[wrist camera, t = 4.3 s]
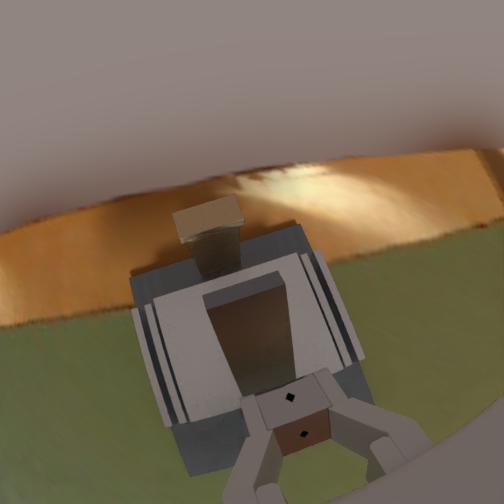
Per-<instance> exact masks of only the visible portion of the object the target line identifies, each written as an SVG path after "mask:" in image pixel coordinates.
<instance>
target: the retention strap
mask: <svg viewBox="0 0 504 504" xmlns="http://www.w3.org/2000/svg"><path fill="white" fill-rule="evenodd" d="M202 297H203V301H204V305H205V308H206V311H207V314H208V316H209V319H210V321H211V324H212V326H213V329H214V331H215V334H216V336H217V339H218V341H219V343H220V346H221V348H222V351H223V353H224V355H225V358H226V360H227V362H228V365H229V367H230V369H231V372H232V374H233V376H234V379H235V381H236V383H237V385H238V388H239V390H240V392H241V394H242V397H245V396H248V395H251V394H254V393H257V392H260V391H264V390H267V389H270V388H273V387H276V386H279V385H282V384H284V383H286V382H289V381H292V380H294V379H296V371H295V361H294V352H293V343H292V334H291V325H290V317H289V308H288V300H287V291H286V284H285V282H284V280H283V278H282V277H281V275H280V273H279V271H278V270H277V271H274V272H271V273H268V274H265V275H262V276H259V277H256V278H253V279H250V280H247V281H244V282H241V283H238V284H235V285H232V286H229V287H226V288H223V289H219V290H216V291H213V292H210V293H207V294H204V295H202ZM254 395H255V394H254ZM255 397H256V396H255ZM256 400H257V399H256ZM257 403H258V402H257Z"/></svg>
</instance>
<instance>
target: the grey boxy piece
mask: <svg viewBox="0 0 504 504" xmlns="http://www.w3.org/2000/svg"><path fill="white" fill-rule="evenodd" d="M172 215H173V218H174V222H175V226H176V230H177V233H178V237H179V240H180V242H181V244H182V245H183V244H186V243H187V244H188V247H189V249H190V251H191V254H192V256H193V257H192V258H189V259H186V260H183V261H179V262H176V263H173V264H170V265H167V266H164V267H161V268H158V269H155V270H151V271H148V272H145V273H142V274H139V275H136V276H133V277H130V278H129V280H130V285H131V290H132V294H133V299H134V303H135V307H136V308H135V309H131V311H132V315H133V319H134V324H135V328H136V332H137V336H138V339H139V343H140V347H141V351H142V354H143V358H144V362H145V365H146V369H147V372H148V375H149V379H150V382H151V385H152V388H153V392H154V395H155V398H156V401H157V404H158V407H159V410H160V413H161V416H162V419H163V422H164V425H165V427H170V426H171V429H172V432H173V435H174V437H175V440H176V443H177V445H178V448H179V451H180V453H181V456H182V458H183V461H184V463H185V466H186V468H187V471H188V473H189V475H190V477H192V476H196V475H201V474H205V473H209V472H213V471H217V470H221V469H225V468H229V467H232V466H234V465H235V463H236V461H237V458H238V456H239V454H240V451H241V449H242V446H243V444H244V441H245V439H246V438H247V437H250V434H249V431H248V428H247V424H246V421H245V418H244V415H243V412H242V408H241V405H240V401H239V398H241V397H242V394H241V392H240V390H239V388H238V385H237V383H236V381H235V379H234V376H233V374H232V372H231V369H230V367H229V365H228V362H227V360H226V358H225V355H224V353H223V351H222V348H221V346H220V343H219V341H218V339H217V336H216V334H215V331H214V329H213V326H212V324H211V321H210V319H209V316H208V314H207V311H206V308H205V305H204V301H203V297H202V295H204V294H207V293H210V292H213V291H216V290H219V289H223V288H226V287H229V286H232V285H235V284H238V283H241V282H244V281H247V280H250V279H253V278H256V277H259V276H262V275H265V274H268V273H271V272H274V271H277V270H278V271H279V273H280V275H281V277H282V278H283V280H284V282H285V284H286V291H287V300H288V308H289V317H290V325H291V334H292V343H293V352H294V361H295V371H296V379H297V378H299V377H302V376H304V375H307V374H309V373H312V372H315V371H317V370H320V369H322V368H325V367H326V368H328V369H329V371H330V372H331V374H332V375H333V377H334V378H335V380H336V381H337V383H338V384H339V386H340V387H341V389H342V390H343V392H344V393H345V395H346V396H347V397H348V399H350V398H355V399H358V400H361V401H363V402H366V403H369V404H372V405H374V406H375V404H374V401H373V399H372V396H371V393H370V391H369V388H368V385H367V383H366V380H365V377H364V375H363V372H362V369H361V367H360V364H359V362H358V361H360V360H362V359H365V356H364V353H363V350H362V348H361V345H360V343H359V340H358V338H357V335H356V333H355V330H354V328H353V325H352V323H351V321H350V318H349V316H348V313H347V311H346V309H345V306H344V304H343V301H342V299H341V297H340V294H339V292H338V290H337V287H336V285H335V283H334V280H333V278H332V276H331V274H330V271H329V269H328V267H327V264H326V262H325V260H324V258H323V256H322V253H321V251H320V249H317V250H314V251H312V249H311V247H310V244H309V242H308V240H307V238H306V235H305V233H304V231H303V229H302V227H301V224H297V225H294V226H290V227H287V228H284V229H281V230H278V231H274V232H271V233H268V234H265V235H261V236H258V237H255V238H252V239H249V240H246V241H242V242H240V237H239V227H240V226H243V225H244V217H243V214H242V212H241V209H240V206H239V204H238V201H237V199H236V196H235V194H233V195H230V196H226V197H223V198H219V199H216V200H213V201H210V202H206V203H203V204H200V205H197V206H193V207H190V208H187V209H184V210H181V211H177V212H174V213H172Z"/></svg>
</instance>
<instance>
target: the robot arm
mask: <svg viewBox="0 0 504 504" xmlns="http://www.w3.org/2000/svg"><path fill="white" fill-rule="evenodd" d="M254 394H255V395H254ZM254 394H251V395H248V396H245V397H241V398H239V401H240V405H241V408H242V412H243V415H244V418H245V421H246V424H247V428H248V431H249V434H250V437H247V438H246V439H245V441H244V444H243V446H242V449H241V451H240V454H239V456H238V458H237V461H236V463H235V465H234V468H233V470H232V473H231V475H230V477H229V479H228V482H227V484H226V486H225V489H224V491H223V493H222V499H223V504H288V503H287V501H286V499H285V497H284V495H283V493H282V491H281V489H280V487H279V485H278V484H277V482H278V478H279V474H280V470H281V467H282V463H283V459H284V458H283V457H285V456H287V455H290V454H292V453H295V452H298V451H300V450H303V449H305V448H308V447H310V446H313V445H316V444H319V443H321V442H324V441H326V440H329V439H332V440H333V441H335V442H337V443H339V444H340V445H342V446H344V447H346V448H348V449H350V450H351V451H353V452H355V453H357V454H359V455H361V456H363V457H365V458H367V459H368V466H367V474H366V479H367V481H368V484H366V485H364V486H362V487H360V488H357V489H355V490H353V491H351V492H349V493H346V494H344V495H342V496H339V497H337V498H335V499H332V500H330V501H327V502H325V503H322V504H504V393H503V394H502V395H501V396H500V397H498V398H497V399H496V400H495V401H494V402H493V403H491V404H490V405H489V406H488V407H487V408H485V409H484V410H483V411H482V412H481V413H479V414H478V415H477V416H475V417H474V418H473V419H472V420H470V421H469V422H468V423H466V424H465V425H464V426H462V427H461V428H460V429H458V430H457V431H455V432H454V433H453V434H451V435H450V436H448V437H447V438H445V439H444V440H442V441H441V442H440V443H438V444H436V445H434V444H433V443H432V442H431V440H430V439H429V438H428V437H427V435H426V434H425V433H424V431H423V430H422V429H421V428H420V426H419V425H418V424H417V423H416V421H415V420H414V419H412V418H409V417H406V416H403V415H400V414H397V413H394V412H391V411H388V410H386V409H383V408H380V407H377V406H374V405H372V404H369V403H366V402H363V401H361V400H358V399H355V398H350V399H348V397H347V396H346V395H345V393H344V392H343V390H342V389H341V387H340V386H339V384H338V383H337V381H336V380H335V378H334V377H333V375H332V374H331V372H330V371H329V369H328V368H326V367H325V368H322V369H320V370H317V371H315V372H312V373H309V374H307V375H304V376H302V377H299V378H297V379H294V380H292V381H289V382H286V383H284V384H282V385H279V386H276V387H273V388H270V389H267V390H264V391H260V392H257V393H254ZM255 396H256V397H255ZM256 399H257V400H256ZM257 402H258V403H257Z"/></svg>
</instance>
